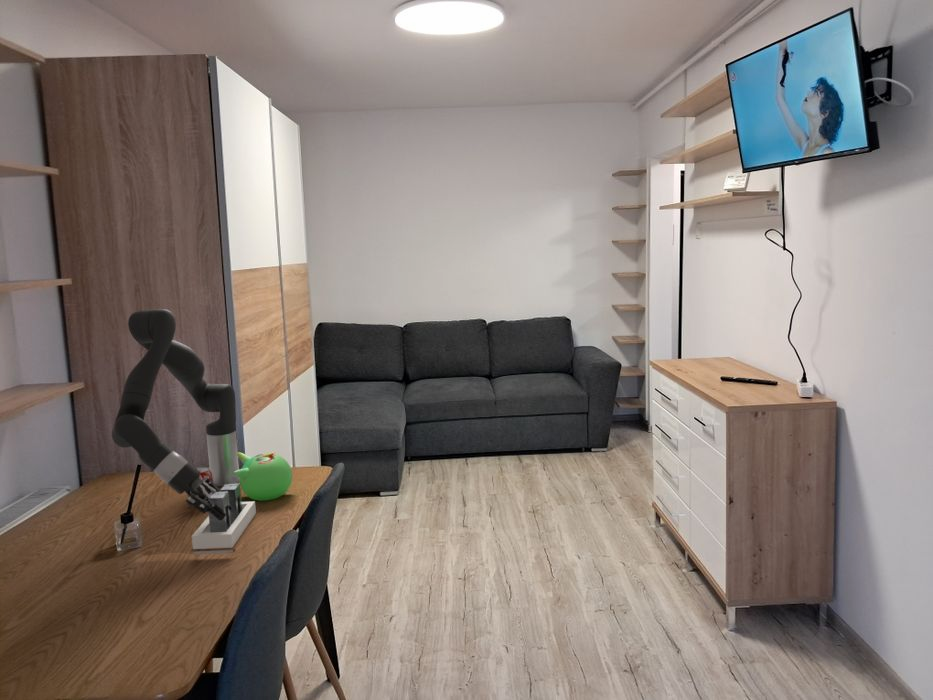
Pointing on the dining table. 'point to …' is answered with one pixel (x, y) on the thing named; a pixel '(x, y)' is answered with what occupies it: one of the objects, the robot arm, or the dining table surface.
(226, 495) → the clip
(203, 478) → the soda can
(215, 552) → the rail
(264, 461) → the toy bird
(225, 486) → the gray rectangular block
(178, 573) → the dining table surface
